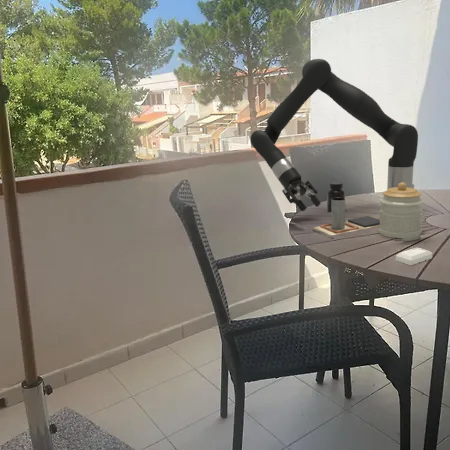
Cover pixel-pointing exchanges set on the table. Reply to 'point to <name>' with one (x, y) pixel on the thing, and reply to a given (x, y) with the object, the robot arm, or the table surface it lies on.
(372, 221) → the pad
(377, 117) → the robot arm
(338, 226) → the grey tumbler
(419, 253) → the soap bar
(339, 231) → the board
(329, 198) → the supplement bottle
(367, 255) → the table surface
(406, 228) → the jar
